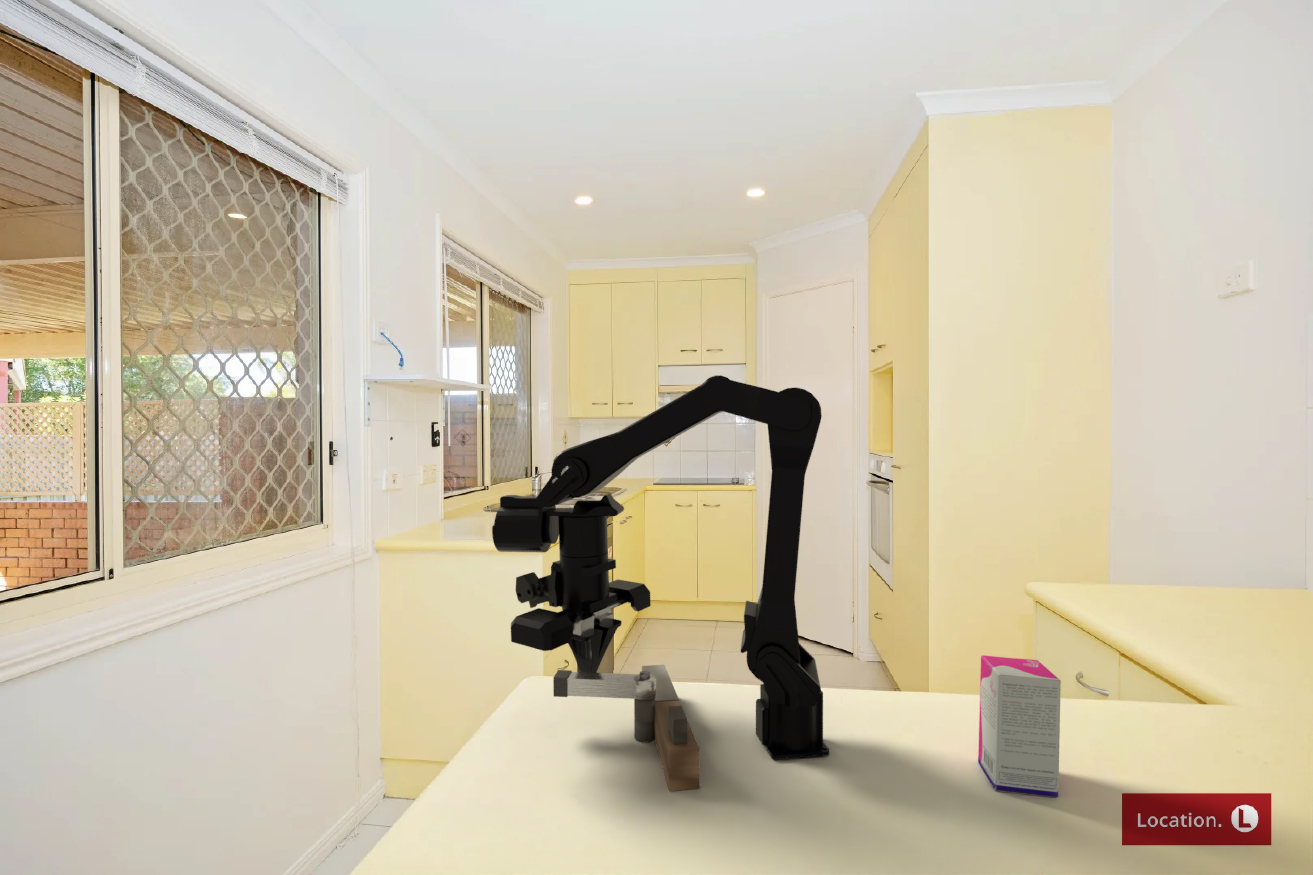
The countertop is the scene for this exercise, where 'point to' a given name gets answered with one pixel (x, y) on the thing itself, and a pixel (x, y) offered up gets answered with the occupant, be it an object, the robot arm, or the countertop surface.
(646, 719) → the wooden block clamp
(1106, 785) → the countertop surface
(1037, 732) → the supplement box
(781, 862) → the countertop surface
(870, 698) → the countertop surface
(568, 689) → the bar
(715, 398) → the robot arm
